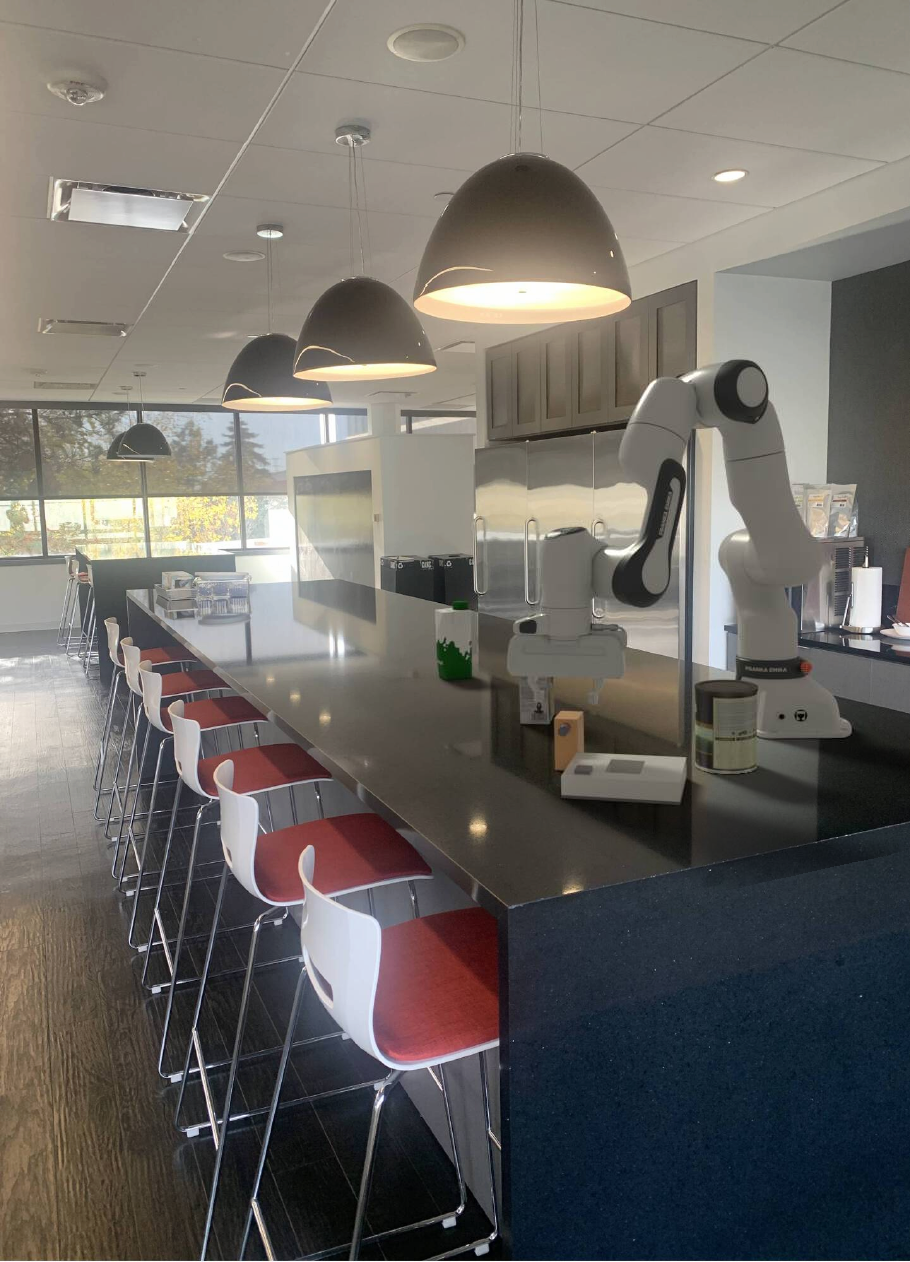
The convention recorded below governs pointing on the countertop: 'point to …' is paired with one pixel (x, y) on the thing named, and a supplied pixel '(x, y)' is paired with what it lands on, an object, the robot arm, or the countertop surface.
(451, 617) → the milk carton
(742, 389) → the robot arm
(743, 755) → the coffee can
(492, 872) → the countertop surface
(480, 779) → the countertop surface
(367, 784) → the countertop surface
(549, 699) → the coffee box
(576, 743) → the plug
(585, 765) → the socket
